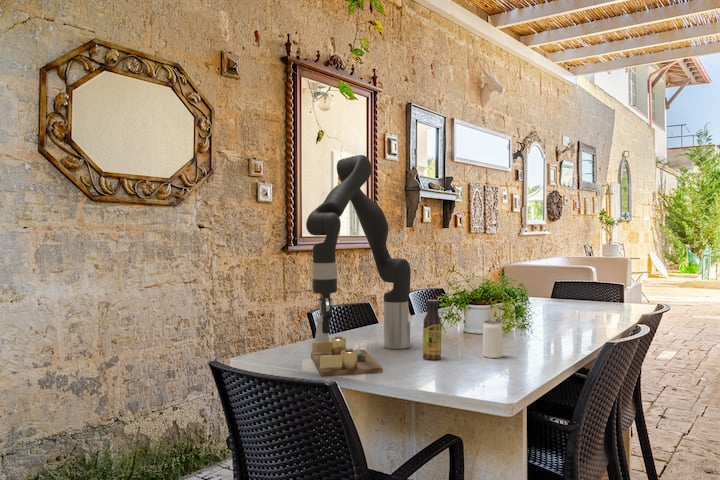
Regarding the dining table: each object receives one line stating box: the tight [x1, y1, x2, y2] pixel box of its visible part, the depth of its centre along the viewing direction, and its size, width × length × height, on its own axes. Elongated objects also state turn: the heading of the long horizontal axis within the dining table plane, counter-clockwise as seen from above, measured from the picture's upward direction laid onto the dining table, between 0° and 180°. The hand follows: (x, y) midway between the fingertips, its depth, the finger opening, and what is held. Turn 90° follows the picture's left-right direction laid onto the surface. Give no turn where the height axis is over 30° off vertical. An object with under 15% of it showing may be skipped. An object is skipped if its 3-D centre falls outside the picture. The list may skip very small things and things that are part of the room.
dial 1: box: [311, 335, 347, 355], centre depth 202 cm, size 12×5×6 cm, turn 95°
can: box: [482, 320, 503, 359], centre depth 202 cm, size 6×6×12 cm
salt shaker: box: [314, 314, 331, 342], centre depth 216 cm, size 6×6×13 cm
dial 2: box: [320, 348, 357, 369], centre depth 180 cm, size 12×5×6 cm, turn 105°
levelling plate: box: [310, 348, 383, 377], centre depth 193 cm, size 19×29×5 cm, turn 11°
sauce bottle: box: [422, 299, 443, 361], centre depth 200 cm, size 6×6×20 cm
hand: (325, 332), depth 183 cm, fingers closed
